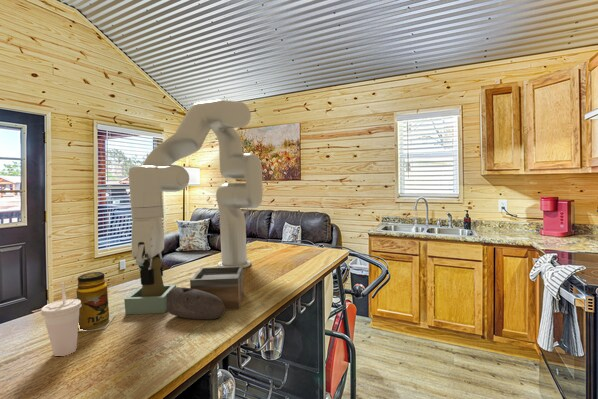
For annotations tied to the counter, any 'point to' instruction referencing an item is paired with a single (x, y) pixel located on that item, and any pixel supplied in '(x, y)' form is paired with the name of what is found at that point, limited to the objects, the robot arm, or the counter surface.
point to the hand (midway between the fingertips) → (152, 279)
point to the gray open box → (221, 284)
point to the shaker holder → (146, 302)
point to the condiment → (93, 302)
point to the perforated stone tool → (194, 304)
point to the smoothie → (62, 324)
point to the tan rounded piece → (158, 286)
